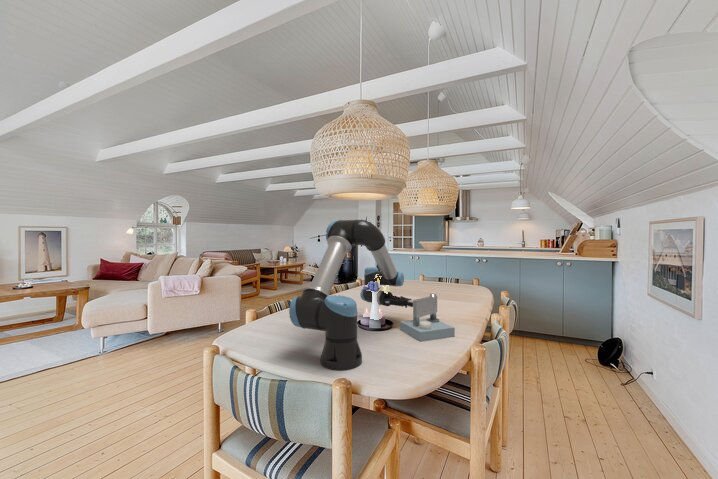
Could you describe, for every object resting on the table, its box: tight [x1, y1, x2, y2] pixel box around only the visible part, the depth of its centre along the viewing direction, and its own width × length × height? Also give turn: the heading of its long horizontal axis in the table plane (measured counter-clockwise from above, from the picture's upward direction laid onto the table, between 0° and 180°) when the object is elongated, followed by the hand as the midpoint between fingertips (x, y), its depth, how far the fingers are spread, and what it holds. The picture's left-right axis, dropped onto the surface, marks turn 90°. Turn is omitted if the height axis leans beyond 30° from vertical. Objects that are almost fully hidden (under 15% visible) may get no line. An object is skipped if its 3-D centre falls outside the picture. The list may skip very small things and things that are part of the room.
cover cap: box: [420, 321, 431, 329], centre depth 140 cm, size 5×5×2 cm
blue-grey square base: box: [399, 317, 456, 342], centre depth 145 cm, size 18×18×5 cm
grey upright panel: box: [412, 293, 438, 326], centre depth 147 cm, size 3×16×12 cm, turn 131°
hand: (419, 305), depth 148 cm, fingers closed
